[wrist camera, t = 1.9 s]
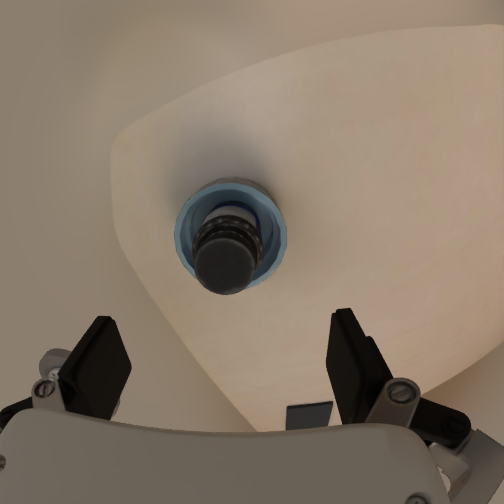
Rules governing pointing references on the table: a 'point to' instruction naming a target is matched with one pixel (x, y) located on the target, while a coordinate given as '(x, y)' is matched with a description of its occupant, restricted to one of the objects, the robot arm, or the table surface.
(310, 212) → the table surface
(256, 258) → the pill bottle
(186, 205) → the bowl
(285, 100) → the table surface
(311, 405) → the mat
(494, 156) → the table surface
